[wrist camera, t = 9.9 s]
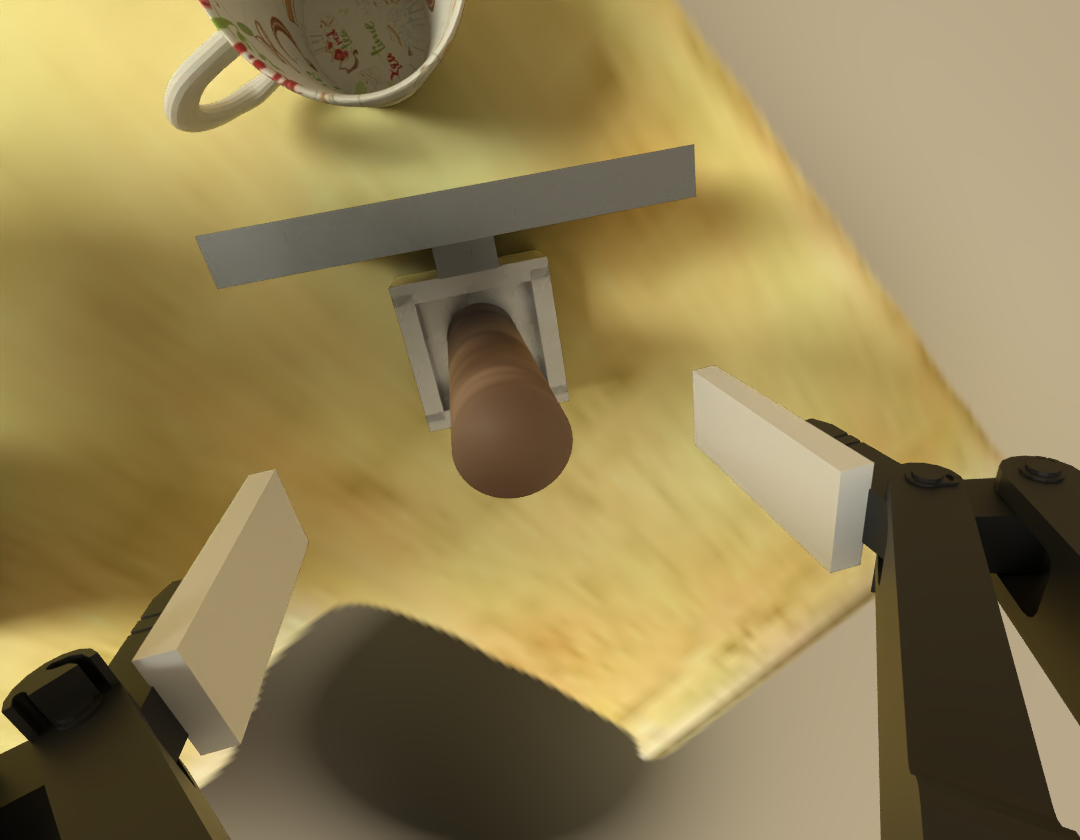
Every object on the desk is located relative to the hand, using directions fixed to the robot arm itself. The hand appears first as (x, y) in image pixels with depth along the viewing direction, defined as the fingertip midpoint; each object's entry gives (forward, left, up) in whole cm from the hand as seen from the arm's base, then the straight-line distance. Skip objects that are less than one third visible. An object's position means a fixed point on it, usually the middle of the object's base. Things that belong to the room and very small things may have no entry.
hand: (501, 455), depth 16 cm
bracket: (0, +2, -16) cm, 16 cm away
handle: (0, 0, -15) cm, 15 cm away
